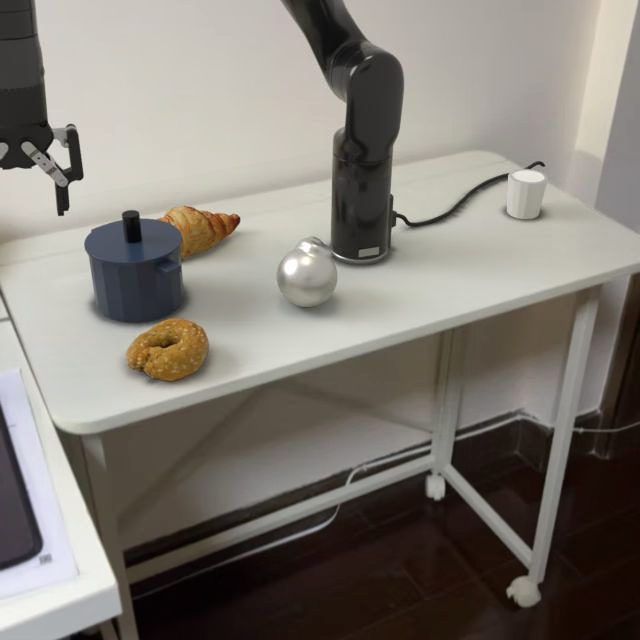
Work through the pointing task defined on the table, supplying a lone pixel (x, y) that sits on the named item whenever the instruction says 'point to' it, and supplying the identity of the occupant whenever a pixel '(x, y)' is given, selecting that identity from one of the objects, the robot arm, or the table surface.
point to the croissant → (200, 228)
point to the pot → (138, 289)
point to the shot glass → (525, 193)
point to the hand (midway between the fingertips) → (22, 216)
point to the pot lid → (133, 240)
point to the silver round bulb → (307, 273)
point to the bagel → (169, 349)
